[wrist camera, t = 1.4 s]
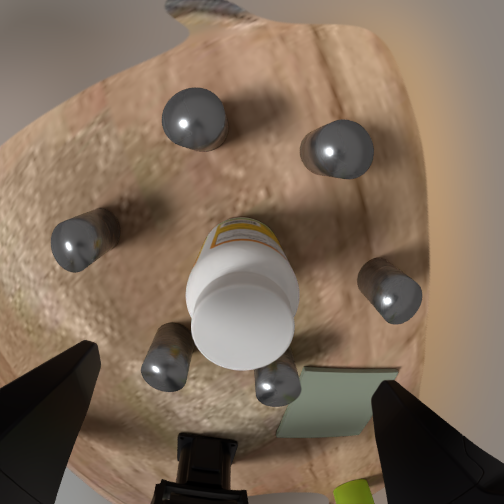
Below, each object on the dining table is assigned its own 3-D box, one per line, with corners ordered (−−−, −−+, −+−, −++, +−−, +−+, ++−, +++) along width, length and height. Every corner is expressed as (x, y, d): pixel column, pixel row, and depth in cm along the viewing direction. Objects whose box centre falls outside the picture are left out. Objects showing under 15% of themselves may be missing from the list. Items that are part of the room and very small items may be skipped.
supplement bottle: (239, 303, 21) (240, 400, 12) (186, 253, 20) (145, 327, 10) (296, 256, 20) (339, 331, 11) (243, 199, 19) (247, 233, 9)
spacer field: (352, 373, 24) (368, 406, 19) (88, 333, 21) (65, 362, 17) (422, 163, 18) (459, 166, 14) (100, 98, 16) (68, 86, 12)
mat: (357, 431, 27) (359, 434, 26) (276, 433, 26) (276, 437, 25) (396, 368, 24) (398, 372, 23) (303, 366, 23) (305, 370, 22)
